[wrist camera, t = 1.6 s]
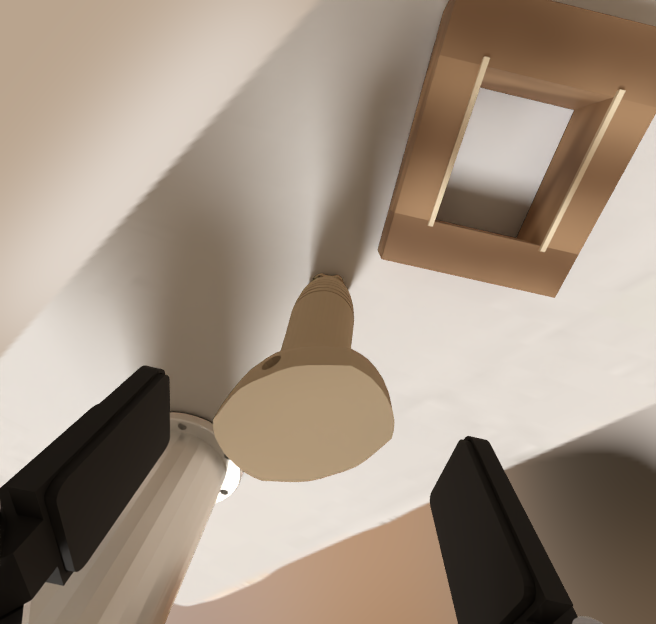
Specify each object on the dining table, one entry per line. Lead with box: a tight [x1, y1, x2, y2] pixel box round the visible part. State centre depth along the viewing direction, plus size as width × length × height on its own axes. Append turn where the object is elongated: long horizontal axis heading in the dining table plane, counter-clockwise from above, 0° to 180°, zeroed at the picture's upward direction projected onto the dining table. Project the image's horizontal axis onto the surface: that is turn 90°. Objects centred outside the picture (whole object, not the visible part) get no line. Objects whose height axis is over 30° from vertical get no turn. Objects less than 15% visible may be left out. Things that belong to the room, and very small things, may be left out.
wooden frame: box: [378, 0, 656, 298], centre depth 19 cm, size 14×12×3 cm
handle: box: [213, 273, 394, 482], centre depth 17 cm, size 5×6×15 cm
